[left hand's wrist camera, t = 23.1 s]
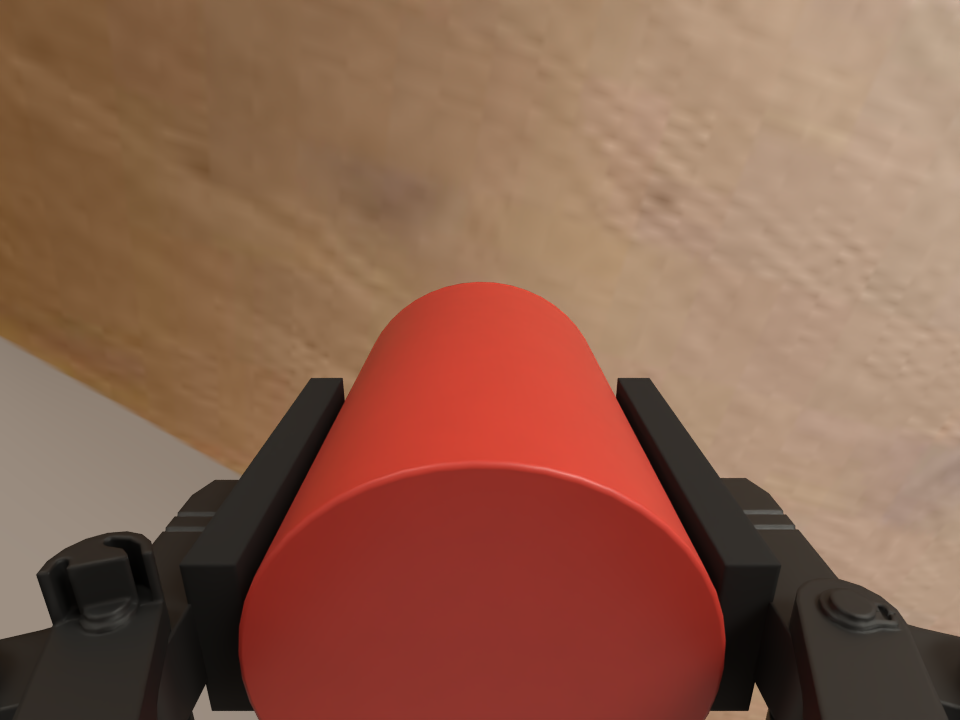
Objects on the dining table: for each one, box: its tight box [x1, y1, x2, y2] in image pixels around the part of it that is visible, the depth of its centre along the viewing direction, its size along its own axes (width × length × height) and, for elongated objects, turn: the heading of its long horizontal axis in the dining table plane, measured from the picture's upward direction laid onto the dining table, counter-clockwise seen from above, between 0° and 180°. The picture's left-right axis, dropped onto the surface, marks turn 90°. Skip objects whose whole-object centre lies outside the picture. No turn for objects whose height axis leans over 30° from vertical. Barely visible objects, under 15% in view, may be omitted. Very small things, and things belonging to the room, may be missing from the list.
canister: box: [238, 282, 726, 720], centre depth 12 cm, size 7×7×9 cm
